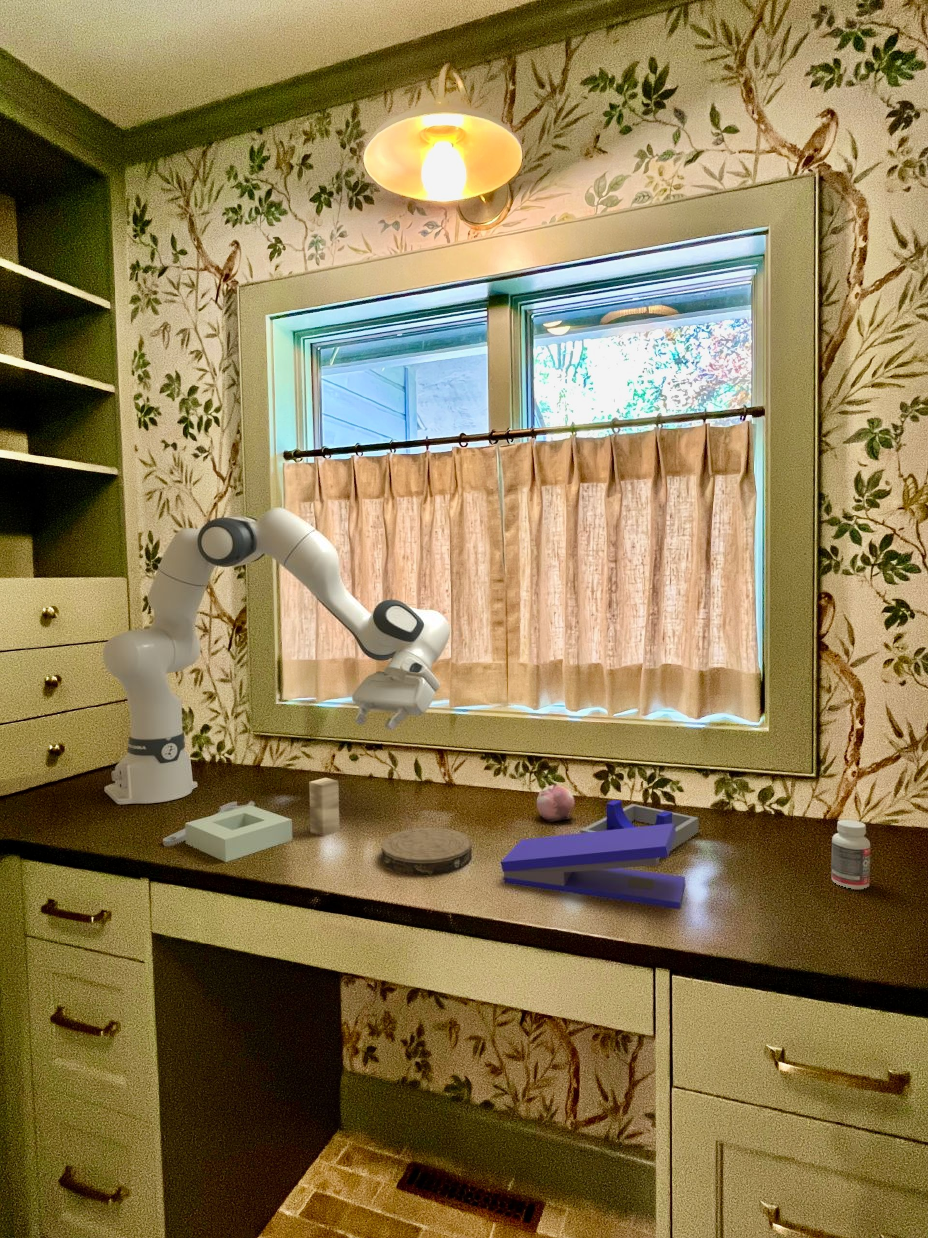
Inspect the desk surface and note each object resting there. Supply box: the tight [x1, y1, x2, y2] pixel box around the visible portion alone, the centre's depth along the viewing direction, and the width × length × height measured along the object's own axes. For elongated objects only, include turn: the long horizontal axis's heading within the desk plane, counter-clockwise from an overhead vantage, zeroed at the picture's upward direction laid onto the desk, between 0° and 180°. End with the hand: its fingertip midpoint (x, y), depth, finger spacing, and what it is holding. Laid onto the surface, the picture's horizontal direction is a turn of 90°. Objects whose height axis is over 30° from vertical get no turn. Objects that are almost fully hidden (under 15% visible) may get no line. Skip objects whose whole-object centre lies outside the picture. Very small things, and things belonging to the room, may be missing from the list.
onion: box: [536, 784, 575, 823], centre depth 148 cm, size 8×8×7 cm
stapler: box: [500, 823, 686, 910], centre depth 116 cm, size 12×28×10 cm, turn 69°
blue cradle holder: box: [606, 799, 676, 830], centre depth 135 cm, size 12×4×6 cm, turn 47°
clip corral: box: [579, 803, 699, 860], centre depth 135 cm, size 14×20×3 cm
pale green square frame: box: [184, 805, 293, 863], centre depth 136 cm, size 14×14×4 cm
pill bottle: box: [831, 819, 871, 890], centre depth 115 cm, size 5×5×10 cm
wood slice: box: [381, 827, 473, 877], centre depth 128 cm, size 16×16×3 cm
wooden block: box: [308, 777, 340, 837], centre depth 142 cm, size 4×4×10 cm
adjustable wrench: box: [162, 800, 256, 847], centre depth 147 cm, size 25×6×2 cm, turn 156°
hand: (373, 725), depth 151 cm, fingers open, 8 cm apart
